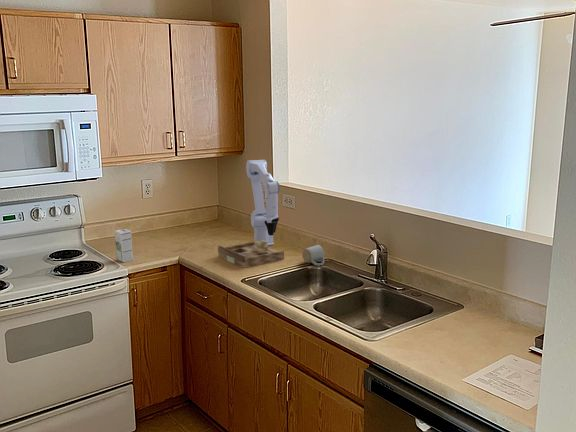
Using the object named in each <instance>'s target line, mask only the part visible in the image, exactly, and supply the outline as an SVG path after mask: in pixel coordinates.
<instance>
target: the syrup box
mask: <svg viewBox="0 0 576 432" xmlns="http://www.w3.org/2000/svg"><path fill="white" fill-rule="evenodd" d="M114 239H115V241H114V242H115V252H116V261H118V262H121V263H126V262H131V261H134V254H133V243H132V242H133V241H132V231H131V230H130V229H126V228H121V229H117V230H114Z"/></svg>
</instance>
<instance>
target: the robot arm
mask: <svg viewBox="0 0 576 432" xmlns="http://www.w3.org/2000/svg"><path fill="white" fill-rule="evenodd" d="M245 171H246V175H247V178H248V179H250V181H251V189H252V194H253V196H252V197H253V202H254V208H255V209H254V210H253V211H252V212H251V214H250V224H251V227H252V228H253V229H254V230H253V231H254V233H253V235H254V236H253V237H254V242H255V241H259V240H264V241H267V242H268V246H272V245H275V243H274V234H275V233H276V231H277V226H278V222H279V220H280V217H279V214H278V211H279V208H278V207H279V206H278V205H279V203H278V202H279V201H278V200H279V198H278V197H279V193H280V191H281V190H280V186H281V185H280V183H279V181H276V180H275V179H274V178H273V176H272V174H271V173H269V172H268V162H267V161H266V159H258V160H257V159H254V160H253V159H250V160H249V159H247V161H246V164H245ZM262 185H263V188H262ZM263 192H264V195H263ZM264 197H265V202H264Z"/></svg>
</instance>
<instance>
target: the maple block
mask: <svg viewBox="0 0 576 432" xmlns="http://www.w3.org/2000/svg"><path fill="white" fill-rule="evenodd" d="M254 242H255V251H258V252H265V251H268V248H269V245H268V242H267V241H264V240H259V241H255V240H254Z"/></svg>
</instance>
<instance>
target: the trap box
mask: <svg viewBox="0 0 576 432" xmlns="http://www.w3.org/2000/svg"><path fill="white" fill-rule="evenodd" d="M217 251H218V252H217V253H218V257H219V258H220V259H223V260H225V261H227V262H229V263H231V264H234V265H237V266H239V267H241V268H243V269H246V268H249V267H256V266H260V265H263V264H269V263H271V262H277V261H280V260H284V259H285V250H278V251H277V250H275V249H272V248H270V247H268V251H265V252H258V251H255V241H251V242H250V241H249V242H246V243H240V244H235V245H230V246H225V247H224V246H221V245H220V244H219V245H217Z"/></svg>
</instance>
